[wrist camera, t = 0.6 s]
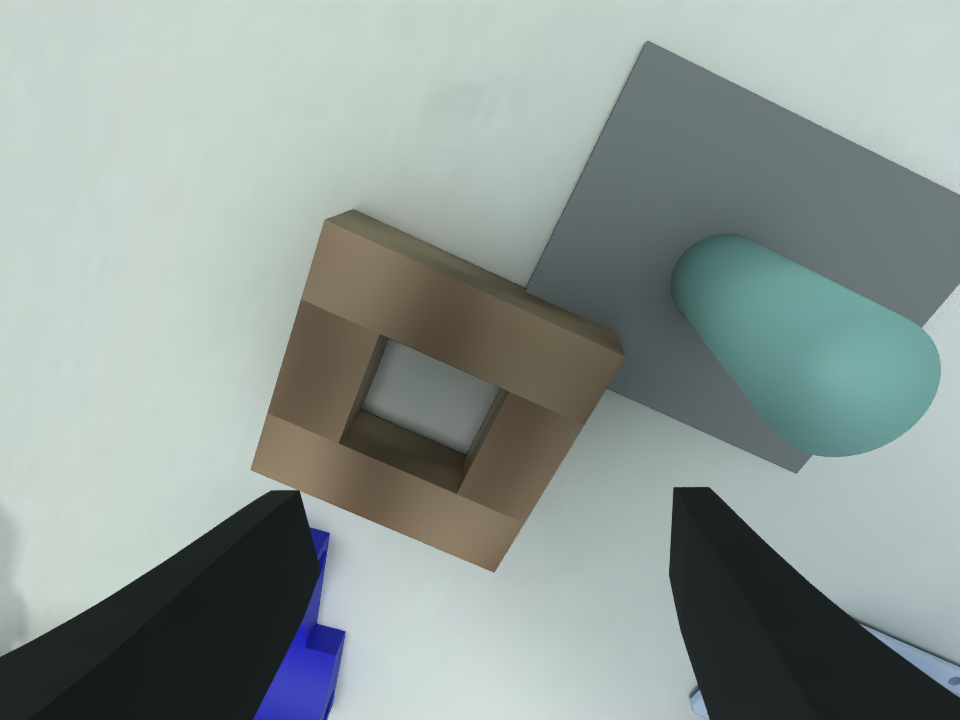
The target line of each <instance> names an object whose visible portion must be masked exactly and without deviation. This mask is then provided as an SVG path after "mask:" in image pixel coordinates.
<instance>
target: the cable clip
mask: <svg viewBox="0 0 960 720" xmlns="http://www.w3.org/2000/svg"><path fill="white" fill-rule="evenodd" d="M310 531H311V535H312V539H313V542H314V546H315V550H316V554H317V557H318V561H319V565H320V568H321V571H320V574H319V577H318V579H317V582H316V585H315V588H314V591H313V594H312V597H311V600H310V603H309V605H308V608H307V611H306V613H305V616H304V619H303V621H302V623H301V625H300V627H299V629H298V631H297V633H296V635H295V637H294V639H293V641H292V643H291V646H290V648H289V650H288V652H287V654H286V656H285V658H284V660H283V662H282V664H281V666H280V668H279V669H278V671H277V673H276V675H275V677H274V679H273V681H272V683H271V685H270V687H269V689H268V691H267V693H266V695H265V697H264V699H263V701H262V703H261V705H260V707H259V709H258V711H257V713H256V715H255V717H254V719H253V720H327V719H328V716H329V713H330V711H331V708H332V704H333V698H334V693H335V687H336V682H337V676H338V671H339V665H340V660H341V654H342V649H343V643H344V637H345V631H341V630H338V629H334V628H330V627H326V626H323V625H319V624H317V617H318V610H319V604H320V597H321V590H322V583H323V576H324V569H325V563H326V556H327V549H328V542H329V535H330V533H328V532H324V531H321V530H317V529H313V528H310Z"/></svg>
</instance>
